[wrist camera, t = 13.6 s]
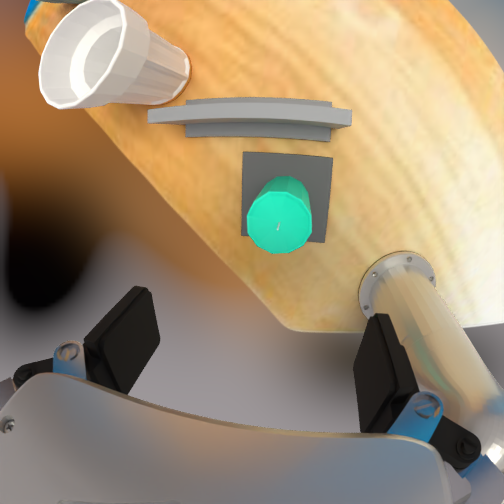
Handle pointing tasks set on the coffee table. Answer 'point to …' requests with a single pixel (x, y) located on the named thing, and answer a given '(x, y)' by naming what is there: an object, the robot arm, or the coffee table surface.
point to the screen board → (255, 117)
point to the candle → (280, 216)
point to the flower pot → (64, 1)
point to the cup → (110, 60)
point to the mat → (299, 167)
